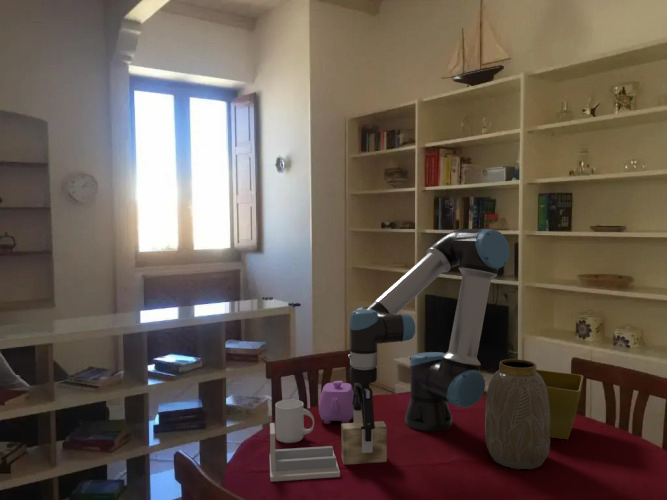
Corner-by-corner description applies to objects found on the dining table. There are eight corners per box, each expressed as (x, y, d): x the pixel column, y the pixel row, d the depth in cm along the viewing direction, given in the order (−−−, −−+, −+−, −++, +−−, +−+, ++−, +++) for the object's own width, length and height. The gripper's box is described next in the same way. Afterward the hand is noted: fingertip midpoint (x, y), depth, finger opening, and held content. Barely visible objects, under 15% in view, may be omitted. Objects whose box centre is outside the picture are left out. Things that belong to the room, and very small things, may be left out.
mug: (311, 445, 164) (311, 409, 163) (272, 442, 166) (271, 407, 165) (317, 434, 172) (316, 400, 171) (279, 432, 174) (279, 398, 173)
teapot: (322, 408, 195) (322, 373, 194) (357, 409, 194) (357, 374, 193) (314, 430, 175) (314, 390, 175) (353, 431, 174) (353, 391, 173)
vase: (548, 451, 158) (550, 358, 157) (551, 477, 142) (553, 374, 140) (486, 443, 164) (487, 353, 162) (482, 468, 147) (483, 369, 146)
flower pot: (582, 425, 177) (583, 374, 176) (578, 447, 160) (579, 390, 159) (521, 416, 186) (521, 367, 185) (511, 436, 169) (511, 382, 168)
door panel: (383, 455, 156) (383, 421, 156) (386, 462, 152) (386, 426, 151) (341, 458, 155) (341, 423, 154) (343, 464, 150) (343, 429, 150)
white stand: (333, 454, 157) (332, 415, 157) (340, 476, 143) (339, 434, 143) (269, 458, 155) (269, 419, 154) (270, 481, 141) (269, 438, 140)
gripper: (343, 355, 164) (342, 426, 165) (357, 379, 139) (357, 461, 140) (368, 355, 165) (367, 425, 166) (386, 378, 140) (385, 460, 141)
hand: (362, 442), depth 153 cm, fingers open, 13 cm apart
